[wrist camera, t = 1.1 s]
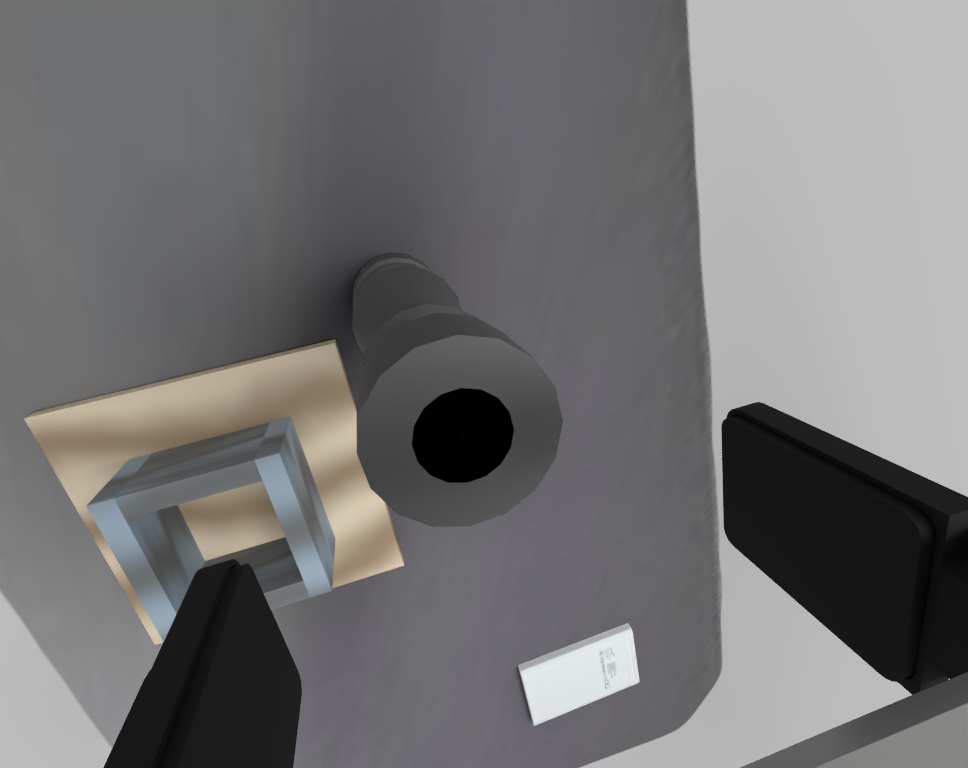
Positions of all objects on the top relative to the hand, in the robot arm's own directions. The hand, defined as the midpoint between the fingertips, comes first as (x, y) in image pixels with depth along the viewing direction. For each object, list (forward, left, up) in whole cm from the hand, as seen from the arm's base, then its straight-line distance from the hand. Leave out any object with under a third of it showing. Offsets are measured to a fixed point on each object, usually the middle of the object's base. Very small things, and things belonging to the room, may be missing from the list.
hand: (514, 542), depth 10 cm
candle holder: (0, 0, -30) cm, 30 cm away
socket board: (+12, -15, -29) cm, 35 cm away
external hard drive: (+43, +9, -30) cm, 53 cm away
